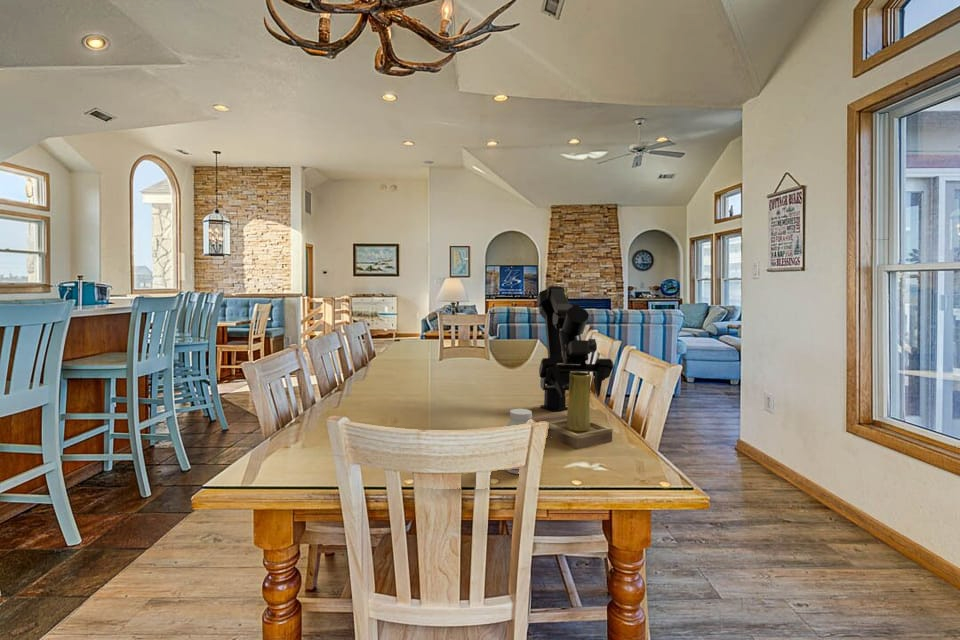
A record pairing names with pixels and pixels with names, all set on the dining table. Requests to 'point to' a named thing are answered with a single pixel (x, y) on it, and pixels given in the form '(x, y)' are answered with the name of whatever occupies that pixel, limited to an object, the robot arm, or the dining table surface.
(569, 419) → the vase
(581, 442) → the wooden tray
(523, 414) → the supplement bottle
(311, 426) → the dining table surface
